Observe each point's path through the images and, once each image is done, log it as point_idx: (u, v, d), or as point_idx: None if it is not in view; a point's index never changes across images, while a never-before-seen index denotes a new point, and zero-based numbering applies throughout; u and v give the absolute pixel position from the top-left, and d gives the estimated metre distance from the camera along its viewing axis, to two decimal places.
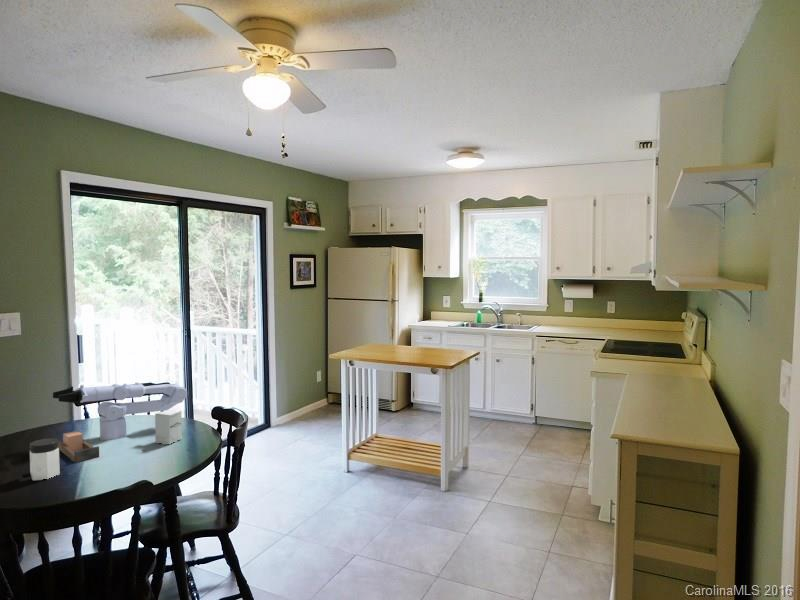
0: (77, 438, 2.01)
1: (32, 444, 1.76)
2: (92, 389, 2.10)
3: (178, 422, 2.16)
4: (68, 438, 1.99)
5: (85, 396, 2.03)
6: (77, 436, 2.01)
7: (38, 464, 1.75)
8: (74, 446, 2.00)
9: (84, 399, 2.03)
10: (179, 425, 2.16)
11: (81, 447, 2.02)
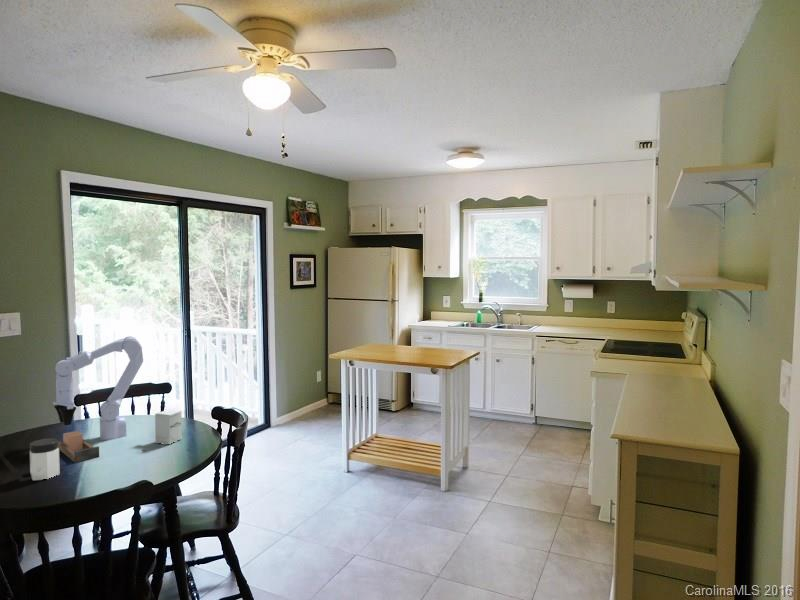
0: (77, 438, 2.01)
1: (32, 444, 1.76)
2: (59, 395, 2.05)
3: (178, 422, 2.16)
4: (68, 438, 1.99)
5: (68, 407, 2.03)
6: (77, 436, 2.01)
7: (38, 464, 1.75)
8: (74, 446, 2.00)
9: (72, 407, 2.03)
10: (179, 425, 2.16)
11: (81, 447, 2.02)
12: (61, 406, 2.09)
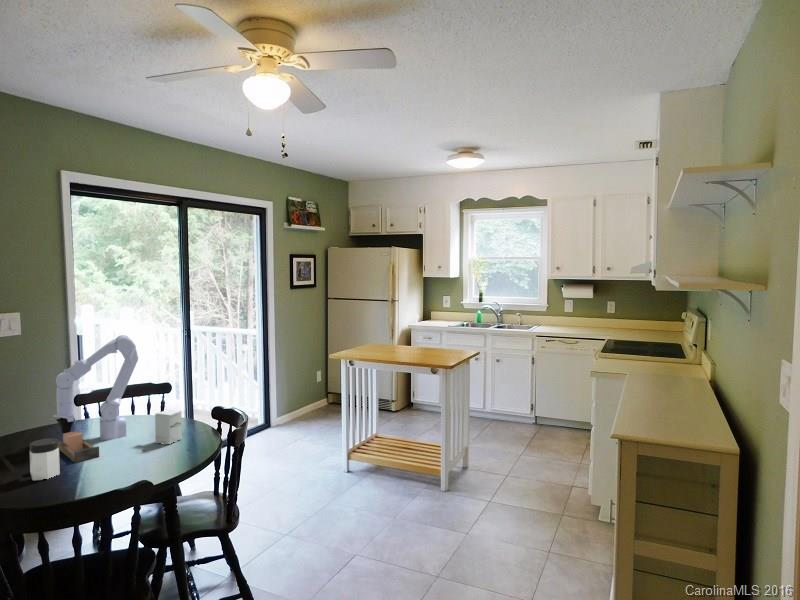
0: (77, 438, 2.01)
1: (32, 444, 1.76)
2: (60, 407, 2.05)
3: (178, 422, 2.16)
4: (68, 438, 1.99)
5: (69, 419, 2.03)
6: (77, 436, 2.01)
7: (38, 464, 1.75)
8: (74, 446, 2.00)
9: (72, 419, 2.04)
10: (179, 425, 2.16)
11: (81, 447, 2.02)
12: None
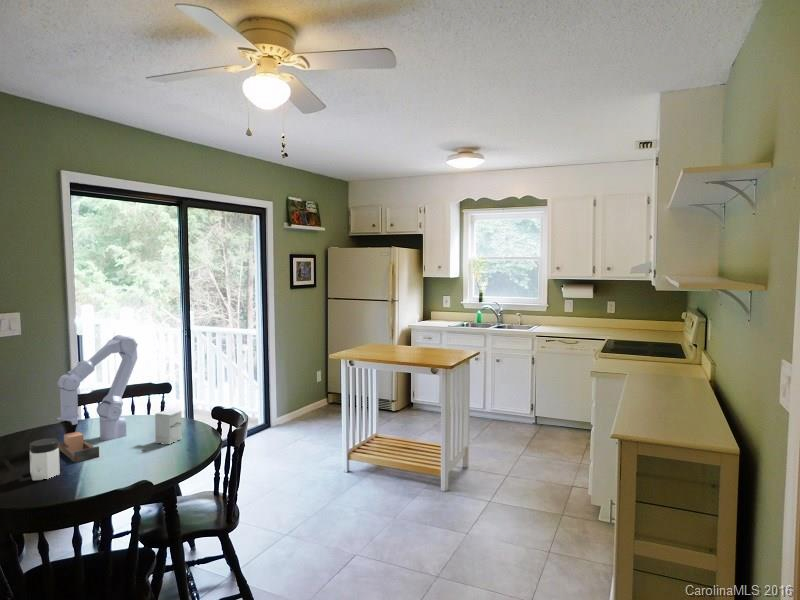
0: (78, 439, 2.00)
1: (32, 444, 1.76)
2: (64, 410, 2.01)
3: (178, 422, 2.16)
4: (69, 439, 1.98)
5: (73, 422, 1.99)
6: (78, 437, 2.00)
7: (38, 464, 1.75)
8: (75, 446, 2.00)
9: (76, 422, 2.00)
10: (179, 425, 2.16)
11: (82, 448, 2.02)
12: None
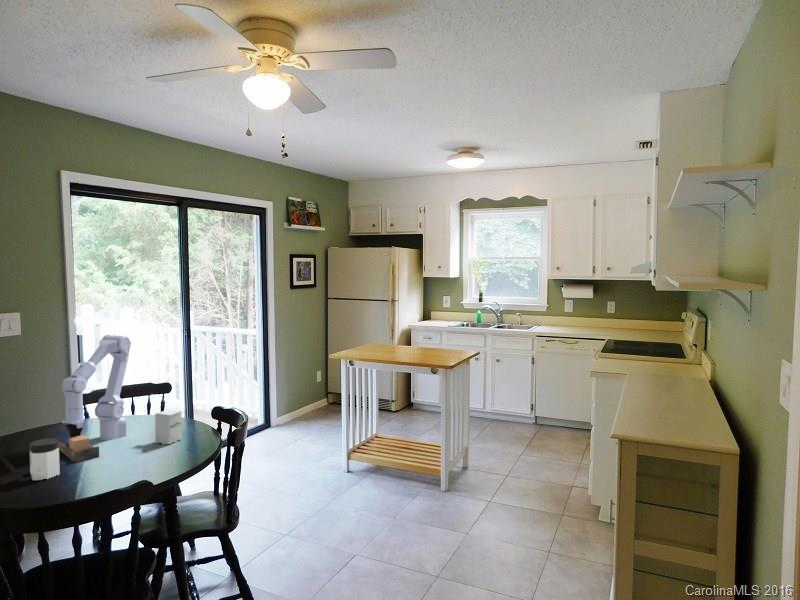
0: (83, 442, 1.96)
1: (32, 444, 1.76)
2: (69, 413, 1.97)
3: (178, 422, 2.16)
4: (74, 442, 1.94)
5: (78, 425, 1.95)
6: (83, 440, 1.96)
7: (38, 464, 1.75)
8: None
9: (82, 426, 1.96)
10: (179, 425, 2.16)
11: None
12: None
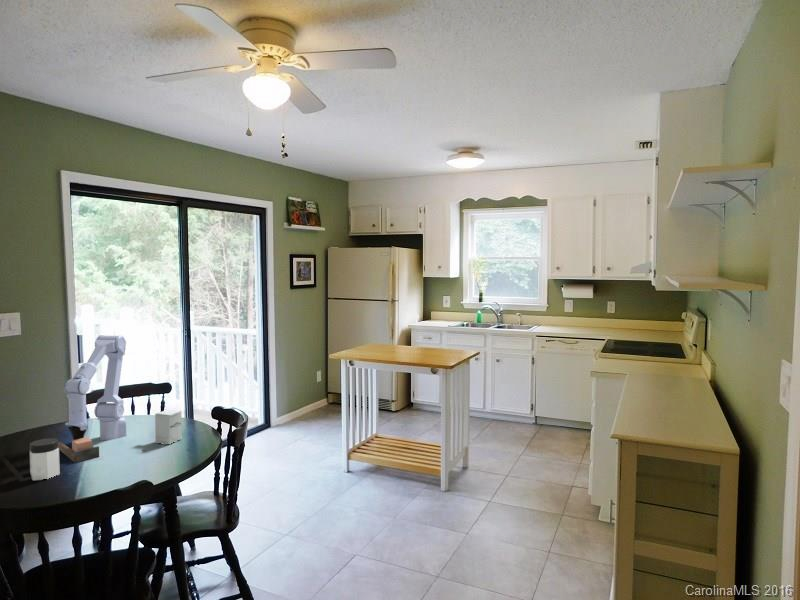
0: (87, 445, 1.94)
1: (32, 444, 1.76)
2: (72, 415, 1.94)
3: (178, 422, 2.16)
4: (77, 445, 1.91)
5: (82, 428, 1.92)
6: (87, 443, 1.93)
7: (38, 464, 1.75)
8: None
9: (85, 428, 1.93)
10: (179, 425, 2.16)
11: None
12: None
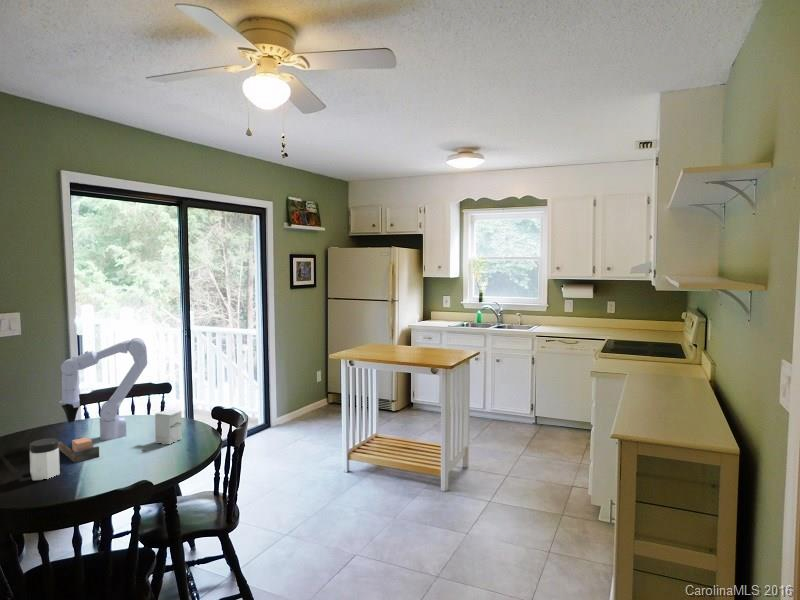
0: (87, 445, 1.93)
1: (32, 444, 1.76)
2: (65, 393, 2.07)
3: (178, 422, 2.16)
4: (77, 445, 1.91)
5: (75, 405, 2.05)
6: (87, 443, 1.93)
7: (38, 464, 1.75)
8: None
9: (78, 405, 2.06)
10: (179, 425, 2.16)
11: None
12: None
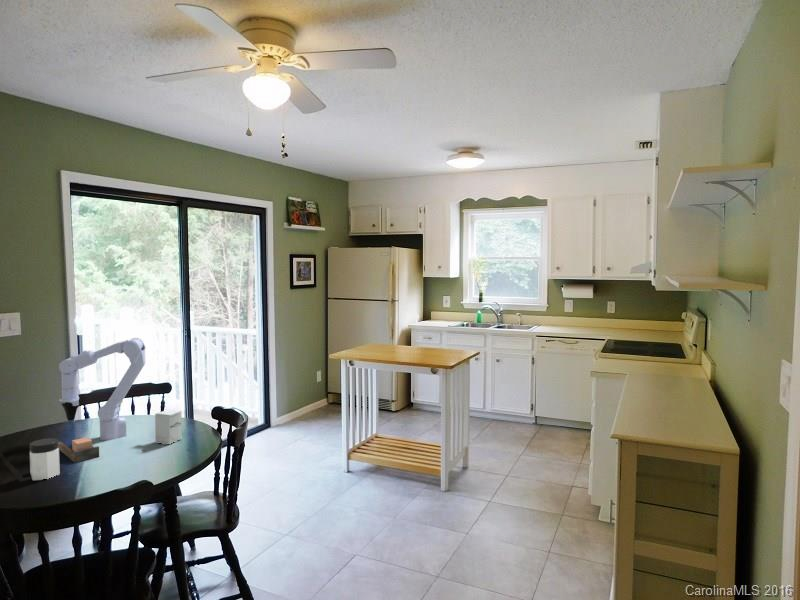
0: (87, 445, 1.93)
1: (32, 444, 1.76)
2: (65, 392, 2.10)
3: (178, 422, 2.16)
4: (77, 445, 1.91)
5: (74, 403, 2.07)
6: (87, 443, 1.93)
7: (38, 464, 1.75)
8: None
9: (77, 404, 2.08)
10: (179, 425, 2.16)
11: None
12: None
